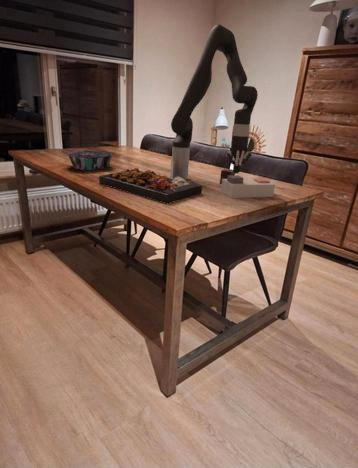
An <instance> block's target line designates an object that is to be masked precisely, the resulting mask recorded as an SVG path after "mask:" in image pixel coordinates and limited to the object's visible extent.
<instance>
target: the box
mask: <svg viewBox="0 0 358 468" xmlns="http://www.w3.org/2000/svg"><path fill="white" fill-rule="evenodd" d="M232 175H236V174H235V173H234V172H233V169H228V168H224V169H222V170H220V179H219V184H220V185H222V179H227V177H228V176H232Z"/></svg>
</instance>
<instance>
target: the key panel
mask: <svg viewBox="0 0 358 468" xmlns="http://www.w3.org/2000/svg"><path fill="white" fill-rule="evenodd" d="M275 189H276V184H275V183H274V182H272V181H270V183H257V182H255V181H254V178H243V183H238V184H231V183H230V182H228V181H227V179H222V184H221V189H220V191H221V192H222V193H223V194H224V195H226V196H227V197H229V198H231V199H237V198H241V199H242V198H273V197H274V193H275Z"/></svg>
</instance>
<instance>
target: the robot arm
mask: <svg viewBox="0 0 358 468" xmlns="http://www.w3.org/2000/svg"><path fill="white" fill-rule="evenodd" d="M217 51H219V52H221V53H222V54H223V55H224V57H225V58H226V63H227V64H226V73H227V76H228V79H229V81H230V83H231V95H232V99H233V101H234V102H235V103H236V104H243V107H242V108H241V109H237V110H235V112H234V119H233V120H234V121H233V126H232V132H231V133H232V134H231V143H230V148H229V150H228V151H225V153H224V155H225V157H226V158H227V160H228V162H229V164H232V165H233V167H232V168H233V169H232V170H233V172H234V173H235V175H236V174H237V175H238V174H239V173H240V171H241V166H242V165H245V164H246V162H247V161H249V159H250V158H251V157H252V156H253V155H252V153H250V152H249V148H248V146H249V139H250V131H251V120H252V119H251V118H252V114H253V111H254V108H255V106H256V103H257V100H258V91H257V88H256V87H255V86H254V85H253V86H251V85H246V84H247V82H248V75H247V74H246V73H247V72H246V71H245V70H244V67H243V63H242V61H241V59H240V55H239V51H238V46H237V41H236V37H235V34H234V33H233V32H232V31H231V30H230V29H228V28H226V27H225V26H223V25H222V24H215V25H214V26H213V27H212V28H211V30H210V32H209V34H208V36H207V38H206V42H205V45H204V47H203V50H202V53H201V57H200V59H199V61H198V63H197V66H196V68H195V70H194V73H193V75H192V77H191V80H190V82H189V84H188V86H187V89H186V90H185V93H184V96H183V98H182V99H181V100H182V101H181V103H180V105H179V107H178V109H177V111H176V112H175V114H174V115H173V117H172V120H171V123H170V127H171V130H172V132H173V133H174V134H175V138H174V139H173V141H172V148H171V149H172V151H171V152H172V153H171V155H172V156H171V160H170V174H169V175H170V176H169V178H173V179H174V178H175V177H181V178H183V179H185V181H187V180H188V179H189V164H190V149H191V147H190V146H191V142H192V141H193V140H192V139H193V130H194V129H193V128H194V127H193V126H194V123H193V119H192V118H191V116H192V114H193V111H194V110H195V109H196V107H197V106H198V105H199V104H200V102H201V101H202V100H203V99H204V97H205V96H206V93H207V92H208V90H209V88H210V86H211V83H212V76H213V75H212V74H213V73H212V71H213V70H212V64H213V60H214V58H215V55H216V53H217Z"/></svg>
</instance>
